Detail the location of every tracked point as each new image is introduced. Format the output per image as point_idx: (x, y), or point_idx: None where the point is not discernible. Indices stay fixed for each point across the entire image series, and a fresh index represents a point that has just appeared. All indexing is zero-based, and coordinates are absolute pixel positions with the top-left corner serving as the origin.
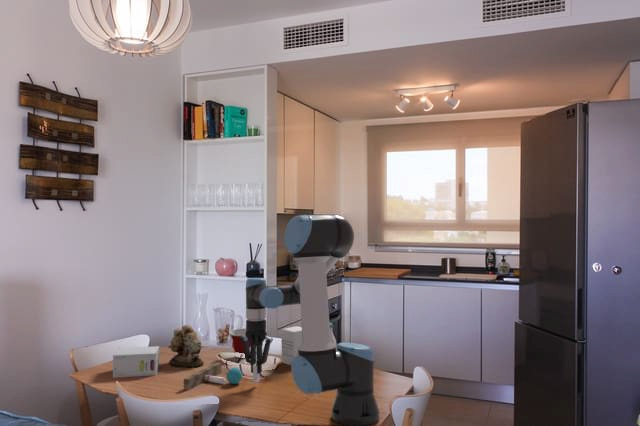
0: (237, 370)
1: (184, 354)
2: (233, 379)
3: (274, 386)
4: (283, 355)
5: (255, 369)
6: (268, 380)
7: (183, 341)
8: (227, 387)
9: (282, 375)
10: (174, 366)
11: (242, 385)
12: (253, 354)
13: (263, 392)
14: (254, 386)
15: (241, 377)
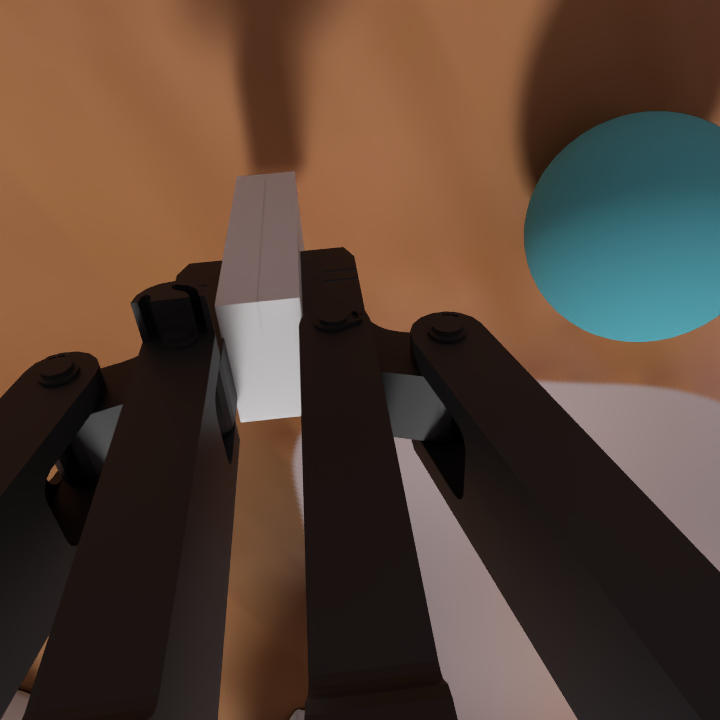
0: (620, 255)
1: None
2: (608, 125)
3: (87, 295)
4: None
5: (245, 265)
6: (283, 422)
7: None
8: (633, 9)
9: (251, 561)
10: None
11: (469, 172)
12: (304, 477)
13: (25, 18)
14: (306, 200)
15: (526, 241)
